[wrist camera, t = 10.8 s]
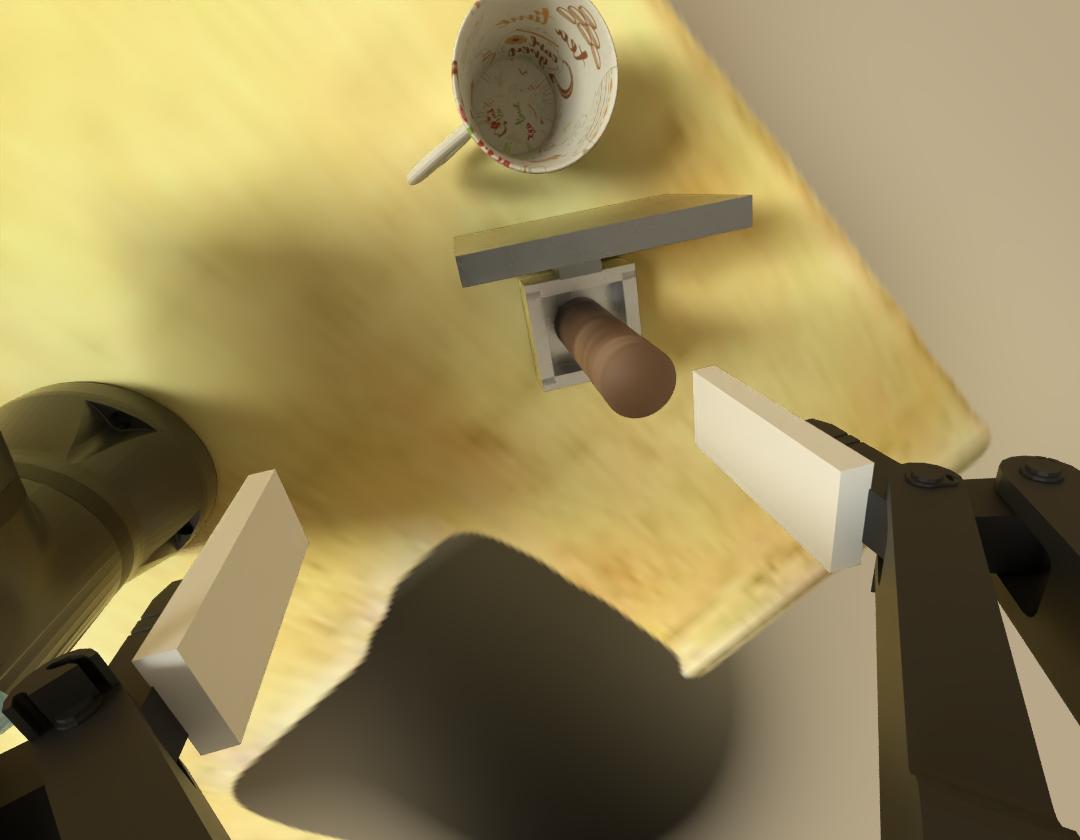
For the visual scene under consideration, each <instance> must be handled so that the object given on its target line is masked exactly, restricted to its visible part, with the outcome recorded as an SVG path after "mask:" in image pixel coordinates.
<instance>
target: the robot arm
mask: <svg viewBox="0 0 1080 840" xmlns="http://www.w3.org/2000/svg"><path fill="white" fill-rule="evenodd" d="M693 397H694V423H695V445H696V446H697V447H698V448H699V449H700V450H701V451H702V452H703V453H704V454H705V455H706V456H708V457H709V458H710V459H711V460H712V461H713V462H714V463H715V464H716V465H717V466H718V467H719V468H720V469H721V470H722V471H723V472H724V473H725V474H726V475H727V476H729V477H730V478H731V479H732V480H733V481H734V482H735V483H736V484H737V485H738V486H739V487H740V488H741V489H742V490H743V491H744V492H745V493H746V494H747V495H748V496H750V497H751V498H752V499H753V500H754V501H755V502H756V503H757V504H758V505H759V506H760V507H761V508H762V509H763V510H764V511H765V512H766V513H767V514H768V515H770V516H771V517H772V518H773V519H774V520H775V521H776V522H777V523H778V524H779V525H780V526H781V527H782V528H783V529H784V530H785V531H786V532H787V533H788V534H789V535H791V536H792V537H793V538H794V539H795V540H796V541H797V542H798V543H799V544H800V545H801V546H802V547H803V548H804V549H805V550H806V551H807V552H808V553H809V554H811V555H812V556H813V557H814V558H815V559H816V560H817V561H818V562H819V563H820V564H821V565H822V566H823V567H824V568H825V569H826V570H827V571H828V572H829V573H833V572H836V571H840V570H843V569H846V568H850V567H853V566H857V565H860V563H861V555H862V548H863V543H864V544H865V545H866V546H868V547H869V548H870V549H871V550H873V551H874V552H875V553H876V554H877V556H876V563H875V569H874V575H873V582H872V588H871V592H875V596H876V637H877V638H876V640H877V687H878V731H879V732H878V733H879V779H880V822H881V840H1080V837H1079V835H1078V834H1077V832H1076V831H1073V830H1070V829H1068V828H1065V827H1062V826H1061V824H1060V823H1059V821H1058V820H1057V817H1056V814H1055V812H1054V809H1053V805H1052V802H1051V798H1050V794H1049V791H1048V787H1047V783H1046V780H1045V776H1044V772H1043V769H1042V765H1041V761H1040V758H1039V754H1038V750H1037V746H1036V742H1035V739H1034V735H1033V731H1032V728H1031V724H1030V720H1029V717H1028V713H1027V709H1026V705H1025V702H1024V698H1023V694H1022V691H1021V687H1020V683H1019V679H1018V676H1017V672H1016V668H1015V665H1014V661H1013V657H1012V653H1011V650H1010V646H1009V642H1008V639H1007V635H1006V632H1005V628H1004V624H1003V621H1002V617H1001V613H1000V609H999V605H998V602H999V604H1000V605H1001V607H1002V608H1003V610H1004V611H1005V613H1006V614H1007V616H1008V617H1009V619H1010V620H1011V622H1012V623H1013V625H1014V626H1015V628H1016V629H1017V631H1018V632H1019V634H1020V635H1021V637H1022V639H1023V640H1024V642H1025V643H1026V645H1027V646H1028V648H1029V649H1030V651H1031V652H1032V654H1033V655H1034V657H1035V658H1036V660H1037V661H1038V663H1039V664H1040V666H1041V667H1042V669H1043V670H1044V672H1045V674H1046V675H1047V677H1048V678H1049V680H1050V681H1051V683H1052V684H1053V686H1054V687H1055V689H1056V690H1057V692H1058V693H1059V695H1060V696H1061V698H1062V699H1063V701H1064V702H1065V704H1066V705H1067V707H1068V708H1069V710H1070V712H1071V713H1072V715H1073V716H1074V718H1075V719H1076V720H1077V722H1078V724H1079V725H1080V471H1079V470H1078V469H1076V468H1074V467H1073V466H1071V465H1068V464H1065V463H1063V462H1060V461H1058V460H1055V459H1051V458H1046V457H1041V456H1016V457H1010V458H1007V459H1005V460H1002V462H1001V464H1000V465H999V469H998V472H997V476H996V478H989V479H988V478H987V479H967V480H963V479H962V477H961V476H959V475H958V474H956V473H955V472H953V471H951V470H949V469H946V468H943V467H941V466H938V465H932V464H927V463H905V464H900V463H898V462H896V461H895V460H893V459H891V458H889V457H888V456H886V455H884V454H882V453H881V452H879V451H877V450H876V449H874V448H872V447H870V446H869V445H867V444H865V443H863V442H862V443H860V440H858V439H857V438H855V437H853V436H851V435H848V434H847V433H846V432H844V431H843V430H841V429H839V428H838V427H836V426H834V425H832V424H829V423H826V422H822V421H819V420H815V419H808V420H803V419H802V418H800V417H798V416H797V415H795V414H793V413H792V412H790V411H788V410H787V409H785V408H784V407H782V406H780V405H779V404H777V403H775V402H774V401H772V400H770V399H769V398H767V397H766V396H764V395H762V394H761V393H759V392H757V391H756V390H754V389H752V388H751V387H749V386H747V385H746V384H744V383H743V382H741V381H739V380H738V379H736V378H734V377H733V376H731V375H729V374H728V373H726V372H725V371H723V370H721V369H720V368H718V367H716V366H715V365H714V366H710V367H706V368H702V369H698V370H693ZM216 495H217V477H216V472H215V468H214V465H213V462H212V459H211V457H210V455H209V453H208V451H207V449H206V447H205V446H204V444H203V443H202V441H201V440H200V439H199V437H198V436H197V435H196V434H195V432H194V431H193V430H192V429H191V428H190V427H189V426H188V425H187V424H186V423H185V422H184V421H183V420H181V419H180V418H179V417H178V416H176V415H175V414H174V413H173V412H171V411H170V410H168V409H167V408H165V407H164V406H162V405H160V404H158V403H157V402H155V401H153V400H151V399H149V398H147V397H145V396H142V395H140V394H137V393H135V392H132V391H129V390H126V389H123V388H119V387H115V386H110V385H105V384H98V383H88V382H71V383H60V384H55V385H50V386H46V387H42V388H39V389H36V390H34V391H31V392H29V393H27V394H25V395H23V396H21V397H19V398H17V399H15V400H12V401H10V402H8V403H7V404H5V405H3V406H1V407H0V734H3V733H4V732H5V731H6V730H7V729H9V728H10V727H12V726H13V725H14V726H15V727H16V728H17V729H18V730H19V731H20V732H21V733H22V734H23V735H24V736H25V737H26V738H27V739H28V741H26V742H24V743H22V744H20V745H18V746H16V747H14V748H12V749H10V750H8V751H6V752H4V753H2V754H0V840H231V839H230V837H229V836H228V834H227V832H226V831H225V829H224V828H223V826H222V824H221V823H220V821H219V819H218V818H217V816H216V815H215V813H214V811H213V810H212V808H211V807H210V805H209V803H208V802H207V800H206V798H205V797H204V795H203V794H202V792H201V790H200V789H199V787H198V785H197V784H196V782H195V781H194V779H193V777H192V776H191V774H190V772H189V771H188V769H187V768H186V766H185V765H184V764H183V762H182V761H181V760H180V759H179V756H180V754H181V751H182V749H183V747H184V745H185V742H186V740H187V738H189V740H190V741H191V742H192V744H193V745H194V747H195V748H196V749H197V751H198V752H199V753H200V755H201V756H202V755H205V754H208V753H212V752H215V751H219V750H222V749H226V748H229V747H233V746H236V745H239V744H241V742H242V739H243V736H244V733H245V730H246V727H247V724H248V721H249V718H250V715H251V712H252V709H253V706H254V703H255V700H256V697H257V694H258V691H259V688H260V685H261V682H262V679H263V676H264V674H265V671H266V668H267V665H268V662H269V659H270V656H271V653H272V650H273V647H274V644H275V641H276V638H277V635H278V632H279V629H280V626H281V623H282V620H283V617H284V614H285V611H286V608H287V605H288V603H289V600H290V597H291V594H292V591H293V588H294V585H295V582H296V579H297V576H298V573H299V570H300V567H301V564H302V561H303V558H304V555H305V552H306V549H307V546H308V543H309V542H308V539H307V537H306V535H305V533H304V531H303V528H302V526H301V524H300V522H299V520H298V518H297V515H296V513H295V511H294V509H293V507H292V504H291V502H290V500H289V498H288V496H287V493H286V491H285V489H284V487H283V485H282V482H281V480H280V478H279V476H278V474H277V471H276V469H273V470H268V471H264V472H260V473H256V474H251V475H248V477H247V478H246V480H245V482H244V483H243V485H242V486H241V488H240V490H239V491H238V493H237V494H236V496H235V498H234V499H233V501H232V502H231V504H230V505H229V507H228V509H227V510H226V512H225V513H224V515H223V517H222V518H221V520H220V521H219V523H218V525H217V526H216V528H215V529H214V531H213V532H212V534H211V536H210V537H209V539H208V540H207V542H206V544H205V545H204V547H203V548H202V550H201V552H200V553H199V555H198V556H197V558H196V559H195V561H194V563H193V564H192V566H191V567H190V569H189V571H188V572H187V574H186V575H185V577H184V579H182V580H178V581H174V582H172V583H171V584H169V585H168V586H167V587H166V588H165V589H164V590H163V591H162V592H161V593H160V594H158V595H157V596H156V597H155V598H154V599H153V600H152V602H151V603H150V605H149V606H148V608H147V609H146V611H145V612H144V614H143V615H142V617H141V620H140V621H138V623H137V624H136V626H135V627H134V628H133V630H132V631H131V635H130V636H128V637H127V639H126V640H125V642H124V643H123V645H122V646H121V648H120V649H119V651H118V652H117V654H116V655H115V657H114V658H113V660H112V661H111V663H110V664H109V666H108V665H107V664H106V663H105V662H104V660H103V659H102V658H101V656H100V655H99V654H98V652H96V651H94V650H93V649H91V648H90V649H77V650H74V651H71V649H72V648H73V647H74V646H75V644H76V643H77V642H78V641H79V639H80V638H81V637H82V636H83V634H84V633H85V632H86V631H87V629H88V628H89V627H90V626H91V624H92V623H93V622H94V621H95V619H96V618H97V617H98V616H99V614H100V613H101V612H102V611H103V609H104V608H105V607H106V606H107V604H108V603H109V602H110V601H111V599H112V598H113V596H114V595H115V594H116V593H117V592H118V590H119V589H120V588H121V587H122V586H123V585H124V584H125V583H127V582H129V581H130V580H132V579H134V578H135V577H137V576H139V575H140V574H142V573H144V572H145V571H147V570H149V569H151V568H152V567H154V566H156V565H157V564H159V563H161V562H162V561H164V560H166V559H167V558H169V557H171V556H172V555H174V554H176V553H177V552H178V551H180V550H181V549H182V548H183V547H184V546H186V545H187V544H188V543H189V542H190V541H191V540H192V539H193V537H194V536H195V535H196V534H197V532H198V531H199V530H200V528H201V527H202V526H203V524H204V523H205V521H206V520H207V519H208V517H209V515H210V513H211V511H212V509H213V507H214V504H215V500H216ZM997 601H998V602H997ZM70 651H71V652H70Z"/></svg>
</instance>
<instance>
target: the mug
mask: <svg viewBox="0 0 1080 840" xmlns="http://www.w3.org/2000/svg"><path fill="white" fill-rule="evenodd" d="M452 86H453V92H454V97H455V102H456V105H457V108H458V111H459V114H460V117H461V119H462V121H463V124H462V125H461V126H460V127H459V128H457V129H456V130H455V131H454V132H453V133H451V134H450V135H449V136H448V137H447V138H445V139H444V140H443V141H442V142H441V143H439V144H438V145H437V146H436V147H435V148H434V149H432V150H431V151H430V152H429V153H428V154H427V155H426V156H425V157H424V158H423V159H421V160H420V161H419V162H418V163H417V164H416V165H415V166H414V167H413V168H412V170H411V171H410V172H409V174H408V175H407V183H408V184H410V185H415V184H418V183H419V182H421V181H422V180H424V179H425V178H426V177H428V176H429V175H430V174H431V173H432V172H433V171H435V170H436V169H437V168H438V167H440V166H441V165H442V164H444V163H445V162H447V161H448V160H449V159H450V158H451V157H452V156H453V155H454V154H455V153H456V152H457V151H458V150H459V149H460V148H461V147H462V146H463V145H464V144H465V143H466V142H467V141H468V140H469V139H470V138H471V137H472V138H473V140H474V141H475V142H476V143H477V145H478V146H479V147H480V148H481V149H482V150H483V151H484V152H485V153H486V154H487V155H488V156H490V157H491V158H492V159H494V160H495V161H497V162H498V163H500V164H502V165H504V166H506V167H508V168H510V169H513V170H516V171H519V172H524V173H532V174H542V173H549V172H554V171H558V170H560V169H563V168H566V167H568V166H570V165H572V164H573V163H575V162H577V161H578V160H579V159H581V158H582V157H583V156H585V155H586V154H587V153H588V152H589V151H590V150H591V149H592V148H593V146H594V145H595V144H596V143H597V141H598V140H599V139H600V137H601V136H602V134H603V132H604V131H605V129H606V127H607V125H608V123H609V120H610V118H611V115H612V112H613V109H614V105H615V101H616V96H617V89H618V63H617V56H616V51H615V47H614V43H613V40H612V37H611V34H610V32H609V29H608V27H607V25H606V23H605V21H604V19H603V17H602V16H601V14H600V13H599V11H598V10H597V8H596V7H595V6H594V5H593V3H592V2H591V1H590V0H477V1H476V2H475V3H474V5H473V6H472V7H471V8H470V10H469V12H468V13H467V15H466V16H465V18H464V20H463V22H462V24H461V27H460V29H459V32H458V34H457V38H456V42H455V46H454V51H453V58H452Z"/></svg>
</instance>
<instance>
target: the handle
mask: <svg viewBox="0 0 1080 840" xmlns="http://www.w3.org/2000/svg"><path fill="white" fill-rule="evenodd" d="M554 326H555V331H556V334H557V336H558V338H559V339H560V340H561V342H562V343H563V344H564V346H565V347H566V348H567V350H568V351H569V352H570V354H571V355H572V356H573V358H574V359H575V360H576V362H577V363H578V364H579V366H580V367H581V368H582V370H583V371H584V372H585V374H586V375H587V376H588V378H589V379H590V381H591V382H592V383H593V385H594V386H595V387H596V389H597V390H598V391H599V393H600V394H601V395H602V397H603V398H604V399H605V401H606V402H607V403H608V405H609V406H610V407H611V408H612V409H613V410H614V411H615V412H616V413H618V414H619V415H621V416H624V417H628V418H642V417H646V416H649V415H651V414H653V413H655V412H657V411H658V410H660V409H661V408H662V407H663V406H664V405H665V404H666V403H667V402H668V400H669V399H670V397H671V396H672V394H673V391H674V388H675V385H676V371H675V368H674V365H673V363H672V361H671V360H670V358H669V357H668V356H667V355H666V354H664V353H663V352H662V351H661V350H659V349H658V348H657V347H655V346H654V345H653V344H651V343H650V342H649V341H647V340H646V339H645V338H643V337H642V336H641V335H639V334H638V333H637V332H635V331H634V330H633V329H631V328H630V327H629V326H627V325H626V324H625V323H623V322H622V321H621V320H619V319H618V318H617V317H615V316H614V315H613V314H611V313H610V312H609V311H607V310H606V309H605V308H603V307H602V306H601V305H599V304H598V303H597V302H595V301H594V300H592V299H590V298H587V297H576V298H572V299H570V300H568V301H567V302H565V303H564V304H563V305H562V306H561V307H560V309H559V310H558V312H557V314H556V317H555V323H554Z"/></svg>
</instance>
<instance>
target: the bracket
mask: <svg viewBox="0 0 1080 840" xmlns="http://www.w3.org/2000/svg"><path fill="white" fill-rule="evenodd" d="M748 227H752V195H713V194H663V195H658V196H653V197H648V198H644V199H639V200H634V201H629V202H624V203H619V204H614V205H609V206H604V207H600V208H595V209H590V210H585V211H580V212H575V213H570V214H565V215H560V216H555V217H551V218H546V219H541V220H536V221H531V222H526V223H521V224H516V225H511V226H506V227H502V228H497V229H492V230H487V231H482V232H477V233H472V234H467V235H462V236H458V237H453V238H454V248H455V257H456V261H457V266H458V270H459V274H460V278H461V282H462V286H463V288H465V287H470V286H474V285H479V284H484V283H489V282H493V281H498V280H503V279H507V278H512V277H517V276H522V275H526V274H531V273H536V272H540V271H545V270H550V269H552V272H549V273H544V274H539V275H534V276H530V277H525V278H520V279H518V281H519V287H520V292H521V297H522V302H523V307H524V313H525V318H526V323H527V328H528V333H529V339H530V344H531V349H532V354H533V359H534V364H535V370H536V375H537V378H538V380H539V382H540V384H541V387H542V389H543V391H544V392H545V391H550V390H554V389H558V388H563V387H567V386H572V385H576V384H580V383H585V382H589V381H590V379H589V378H588V376H587V375H586V374H585V372H584V371H583V370H582V368H581V367H580V366H579V364H578V363H577V362H576V360H575V359H574V358H573V356H572V355H571V354H570V352H569V351H568V350H567V348H566V347H565V346H564V344H563V343H562V342H561V340H560V339H559V338H558V336H557V334H556V331H555V326H554V323H555V317H556V314H557V312H558V310H559V309H560V307H561V306H562V305H563V304H564V303H565V302H567V301H568V300H570V299H572V298H576V297H587V298H590V299H592V300H594V301H595V302H597V303H598V304H599V305H601V306H602V307H603V308H605V309H606V310H607V311H609V312H610V313H611V314H613V315H614V316H615V317H617V318H618V319H619V320H621V321H622V322H623V323H625V324H626V325H627V326H629V327H630V328H631V329H633V330H634V331H635V332H637V333H638V334H639V335H641V324H640V314H639V303H638V293H637V282H636V272H635V263H633V262H630V261H628V260H625V259H623V258H620V257H619V258H615V259H610V260H605V261H601V259H602V258H607V257H611V256H616V255H621V254H626V253H630V252H635V251H640V250H644V249H649V248H654V247H659V246H663V245H668V244H673V243H677V242H682V241H687V240H692V239H696V238H701V237H706V236H711V235H715V234H720V233H725V232H729V231H734V230H739V229H744V228H748ZM641 336H642V335H641Z"/></svg>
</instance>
